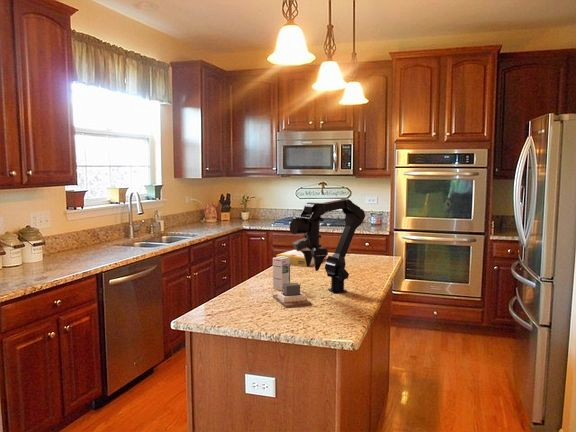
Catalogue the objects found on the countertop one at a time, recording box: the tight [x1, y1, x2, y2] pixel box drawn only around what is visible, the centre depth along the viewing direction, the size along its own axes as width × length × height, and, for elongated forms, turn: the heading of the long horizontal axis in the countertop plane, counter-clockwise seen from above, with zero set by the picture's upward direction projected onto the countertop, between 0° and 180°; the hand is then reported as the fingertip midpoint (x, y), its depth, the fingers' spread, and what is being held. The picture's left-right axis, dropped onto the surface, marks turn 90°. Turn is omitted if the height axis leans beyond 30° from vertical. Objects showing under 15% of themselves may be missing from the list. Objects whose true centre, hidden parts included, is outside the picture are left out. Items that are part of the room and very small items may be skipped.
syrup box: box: [272, 256, 291, 291], centre depth 212 cm, size 6×6×14 cm
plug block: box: [282, 282, 301, 296], centre depth 192 cm, size 4×6×6 cm, turn 110°
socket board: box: [272, 291, 312, 309], centre depth 192 cm, size 16×11×3 cm
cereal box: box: [276, 249, 328, 268], centre depth 278 cm, size 20×6×28 cm
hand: (312, 268), depth 199 cm, fingers open, 9 cm apart
